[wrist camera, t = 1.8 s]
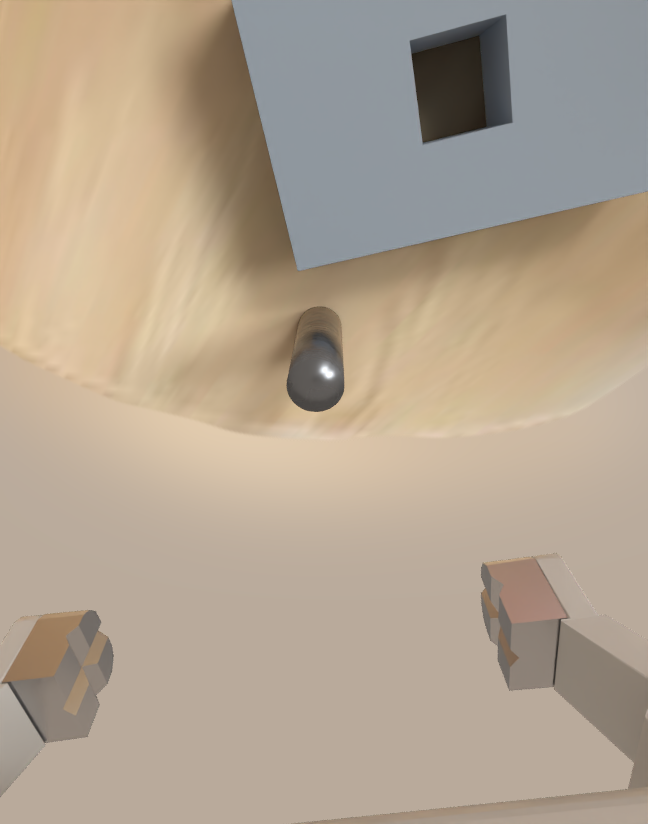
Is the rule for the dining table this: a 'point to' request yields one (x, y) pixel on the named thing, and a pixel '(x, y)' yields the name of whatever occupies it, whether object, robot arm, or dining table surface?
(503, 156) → the hole block
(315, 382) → the peg
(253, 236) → the dining table surface
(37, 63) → the dining table surface
